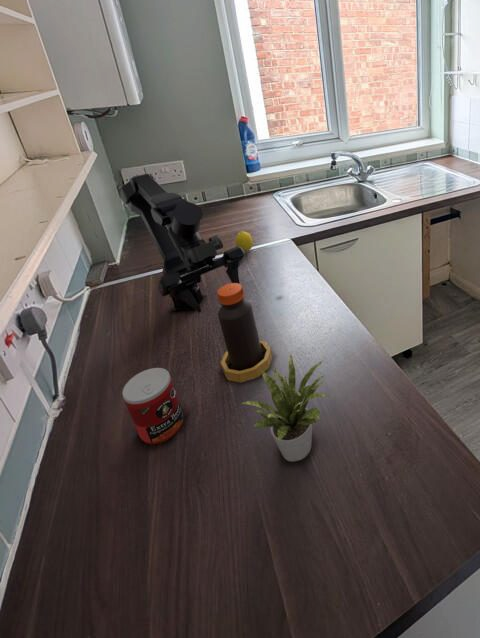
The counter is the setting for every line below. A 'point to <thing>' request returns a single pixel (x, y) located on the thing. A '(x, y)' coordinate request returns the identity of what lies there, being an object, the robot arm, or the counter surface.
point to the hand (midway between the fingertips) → (220, 302)
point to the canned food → (153, 405)
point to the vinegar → (239, 328)
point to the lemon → (244, 241)
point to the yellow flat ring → (251, 372)
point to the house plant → (290, 412)
